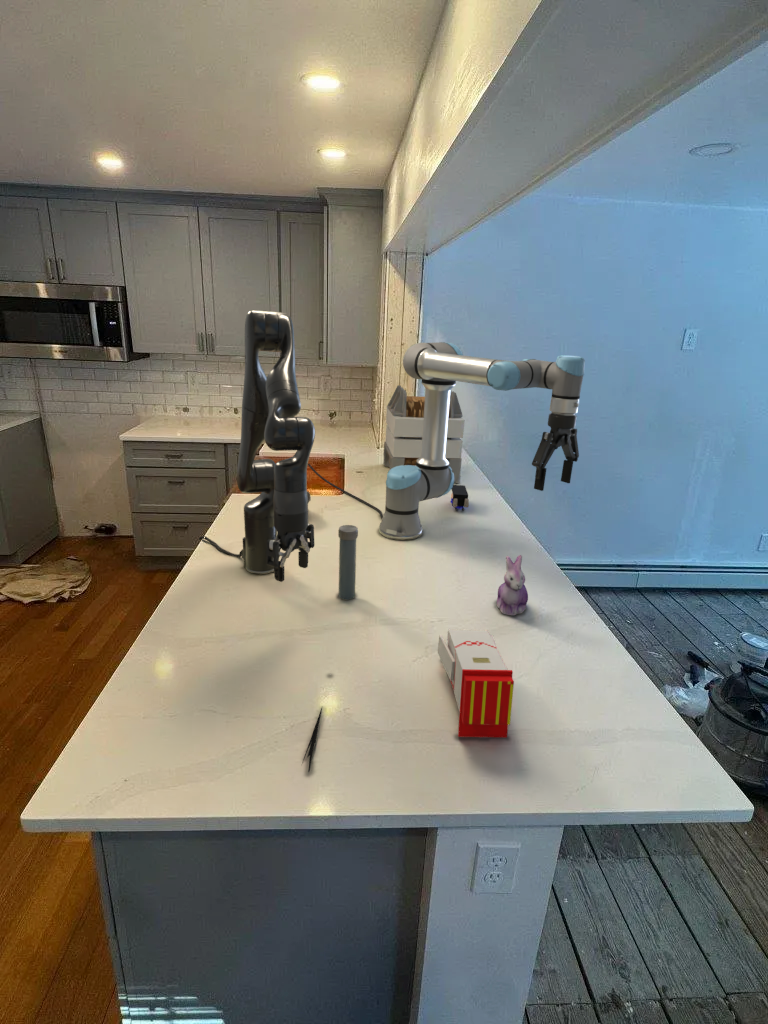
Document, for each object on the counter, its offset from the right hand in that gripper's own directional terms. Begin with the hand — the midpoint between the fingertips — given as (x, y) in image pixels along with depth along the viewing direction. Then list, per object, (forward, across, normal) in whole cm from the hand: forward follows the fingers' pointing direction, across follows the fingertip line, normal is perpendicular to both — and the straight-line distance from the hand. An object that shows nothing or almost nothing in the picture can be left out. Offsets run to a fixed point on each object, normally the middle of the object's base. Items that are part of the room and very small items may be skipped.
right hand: (552, 485), depth 166 cm
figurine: (+28, -25, -9) cm, 39 cm away
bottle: (+28, -57, +23) cm, 68 cm away
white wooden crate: (+28, +46, +101) cm, 115 cm away
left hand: (+12, -79, +15) cm, 82 cm away
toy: (+28, -62, -26) cm, 72 cm away
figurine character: (+28, +25, +56) cm, 67 cm away
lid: (+8, -57, +23) cm, 62 cm away
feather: (+28, -91, -14) cm, 96 cm away
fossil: (+28, -36, +83) cm, 95 cm away
